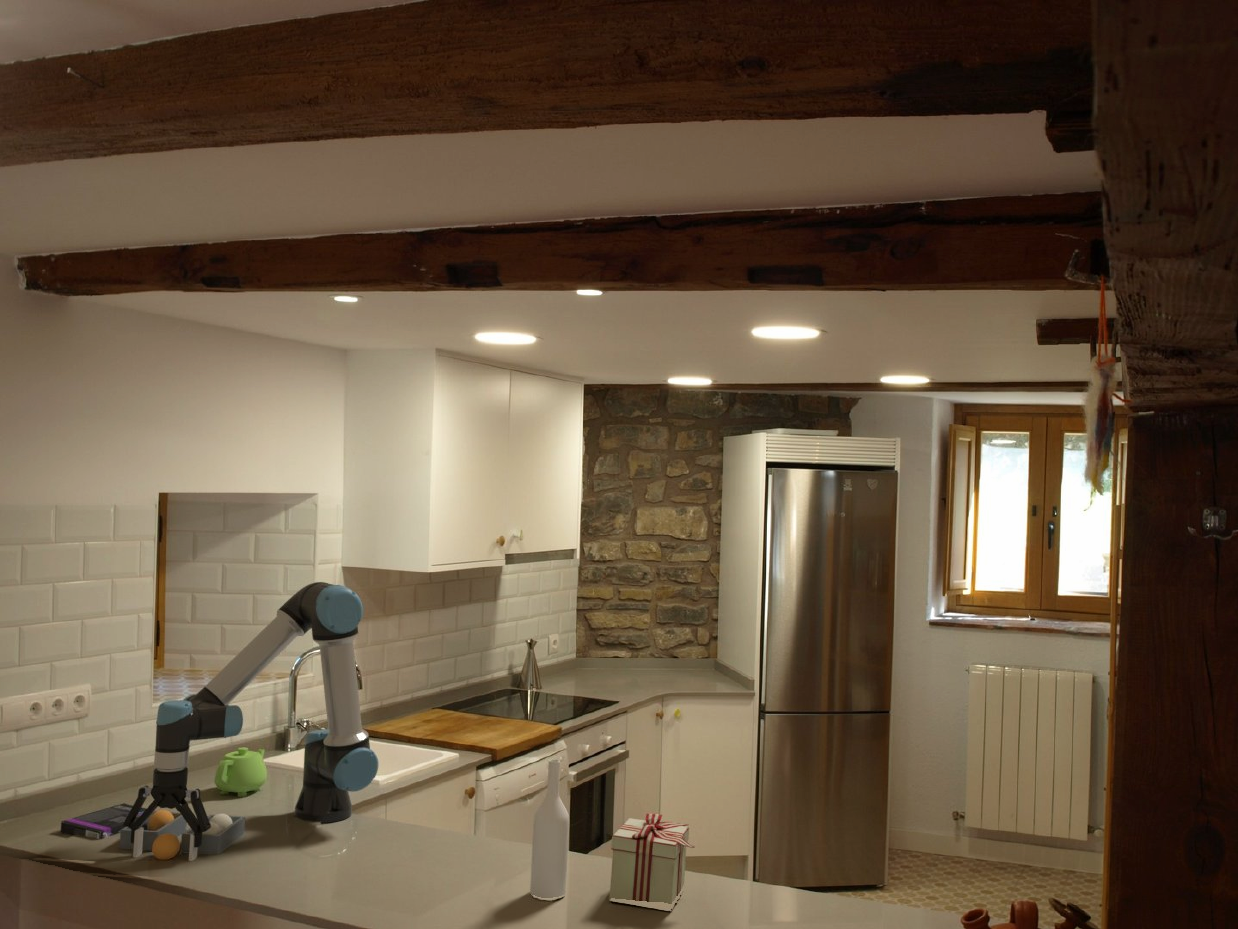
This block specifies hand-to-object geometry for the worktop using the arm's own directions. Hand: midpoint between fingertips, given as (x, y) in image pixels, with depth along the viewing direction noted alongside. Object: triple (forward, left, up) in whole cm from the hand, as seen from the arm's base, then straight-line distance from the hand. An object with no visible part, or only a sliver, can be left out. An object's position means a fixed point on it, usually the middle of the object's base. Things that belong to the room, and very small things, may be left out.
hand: (165, 859), depth 246 cm
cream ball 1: (-7, -8, 0) cm, 10 cm away
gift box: (-116, +3, 0) cm, 116 cm away
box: (+24, -21, -1) cm, 31 cm away
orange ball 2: (0, 0, 0) cm, 0 cm away
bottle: (-92, +6, 0) cm, 92 cm away
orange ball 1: (+8, -15, 0) cm, 17 cm away
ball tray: (+2, -8, 0) cm, 8 cm away
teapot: (+5, -58, 0) cm, 58 cm away
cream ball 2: (-7, -15, 0) cm, 16 cm away
